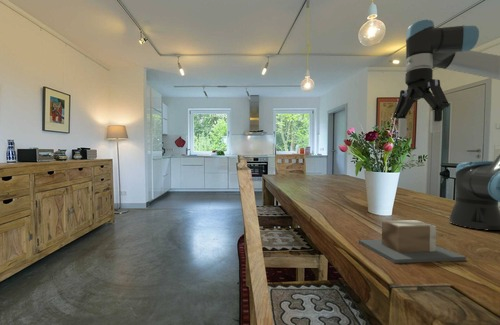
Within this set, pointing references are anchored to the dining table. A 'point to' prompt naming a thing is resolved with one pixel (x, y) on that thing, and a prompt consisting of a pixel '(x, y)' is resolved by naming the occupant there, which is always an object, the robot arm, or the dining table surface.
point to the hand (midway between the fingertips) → (417, 135)
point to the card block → (409, 236)
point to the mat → (411, 253)
